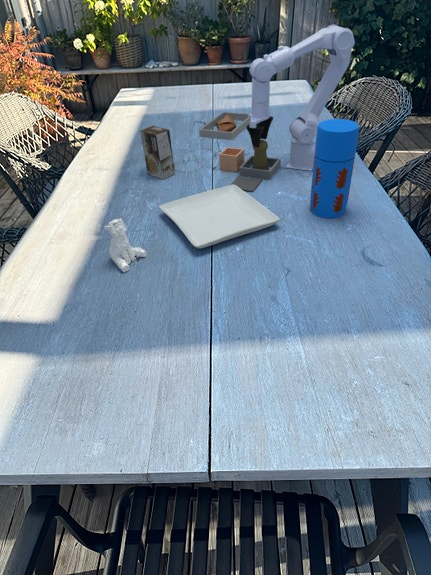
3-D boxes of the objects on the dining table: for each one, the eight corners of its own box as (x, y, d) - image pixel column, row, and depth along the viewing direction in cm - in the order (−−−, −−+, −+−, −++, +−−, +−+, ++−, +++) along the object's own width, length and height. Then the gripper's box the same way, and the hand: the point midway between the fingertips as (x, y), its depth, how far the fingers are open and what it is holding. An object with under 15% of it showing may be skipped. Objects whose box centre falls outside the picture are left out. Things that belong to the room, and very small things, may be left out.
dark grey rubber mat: (262, 181, 142) (262, 179, 142) (252, 192, 136) (252, 190, 135) (238, 177, 145) (238, 176, 145) (228, 188, 139) (228, 187, 139)
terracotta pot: (244, 164, 153) (244, 149, 150) (237, 172, 149) (236, 156, 145) (227, 162, 156) (226, 147, 152) (219, 170, 151) (218, 154, 147)
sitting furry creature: (125, 274, 105) (115, 234, 97) (101, 265, 109) (89, 226, 101) (148, 255, 111) (140, 216, 103) (124, 247, 115) (115, 209, 107)
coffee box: (176, 174, 151) (170, 129, 141) (162, 180, 147) (156, 135, 137) (159, 168, 156) (153, 124, 146) (146, 174, 152) (139, 130, 142)
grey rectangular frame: (280, 166, 150) (280, 158, 148) (270, 179, 142) (270, 171, 140) (250, 163, 154) (250, 155, 152) (239, 175, 146) (239, 167, 144)
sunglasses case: (214, 122, 193) (220, 109, 189) (227, 129, 195) (233, 115, 192) (218, 134, 179) (225, 120, 175) (232, 141, 181) (239, 127, 178)
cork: (267, 175, 145) (268, 144, 138) (250, 174, 147) (250, 144, 140) (269, 167, 150) (270, 137, 143) (252, 167, 151) (252, 137, 144)
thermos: (347, 203, 126) (361, 119, 111) (344, 220, 119) (358, 133, 103) (312, 199, 130) (320, 117, 114) (306, 216, 122) (314, 131, 106)
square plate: (196, 258, 109) (195, 246, 107) (159, 215, 128) (157, 204, 126) (281, 229, 118) (281, 217, 116) (234, 192, 137) (234, 182, 135)
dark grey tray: (253, 120, 192) (253, 114, 190) (232, 139, 174) (231, 132, 172) (223, 118, 197) (222, 111, 195) (199, 136, 180) (198, 129, 178)
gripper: (256, 94, 139) (256, 134, 148) (240, 106, 129) (241, 148, 138) (276, 95, 137) (274, 136, 146) (261, 108, 127) (260, 151, 136)
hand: (259, 142), depth 142 cm, fingers open, 7 cm apart
